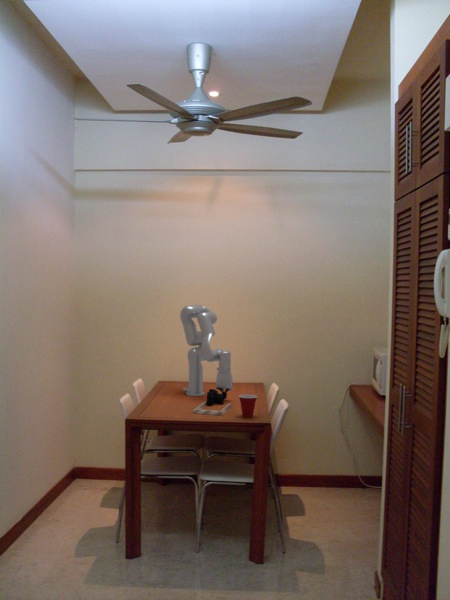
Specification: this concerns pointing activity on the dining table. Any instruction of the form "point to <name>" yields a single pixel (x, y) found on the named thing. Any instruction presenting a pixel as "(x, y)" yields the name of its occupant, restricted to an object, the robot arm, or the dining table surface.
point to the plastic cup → (247, 404)
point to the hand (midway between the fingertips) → (224, 398)
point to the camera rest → (198, 410)
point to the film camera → (214, 397)
